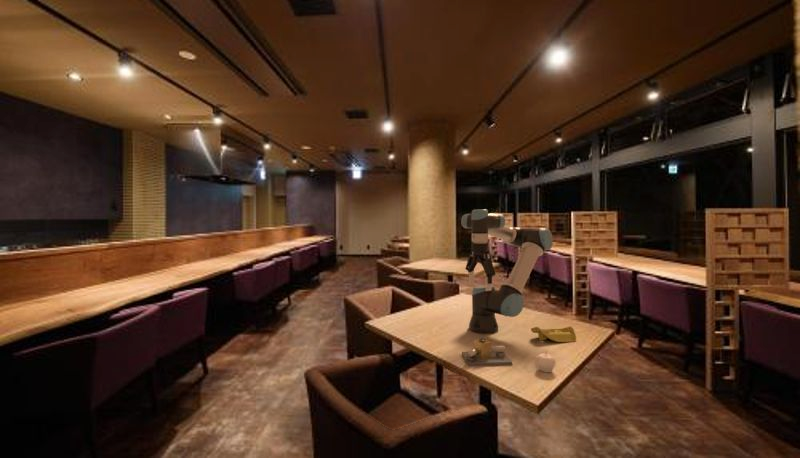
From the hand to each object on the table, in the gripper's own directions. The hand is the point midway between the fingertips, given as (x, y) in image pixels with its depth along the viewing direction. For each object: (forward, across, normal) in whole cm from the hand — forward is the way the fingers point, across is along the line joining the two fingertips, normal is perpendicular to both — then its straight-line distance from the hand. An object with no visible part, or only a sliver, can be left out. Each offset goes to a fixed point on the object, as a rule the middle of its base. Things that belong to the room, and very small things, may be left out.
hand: (479, 287), depth 170 cm
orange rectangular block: (+26, +15, -9) cm, 31 cm away
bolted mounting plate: (+27, +16, -8) cm, 32 cm away
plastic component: (+27, +8, +37) cm, 47 cm away
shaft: (+26, +17, -15) cm, 34 cm away
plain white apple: (+27, +34, +7) cm, 44 cm away
